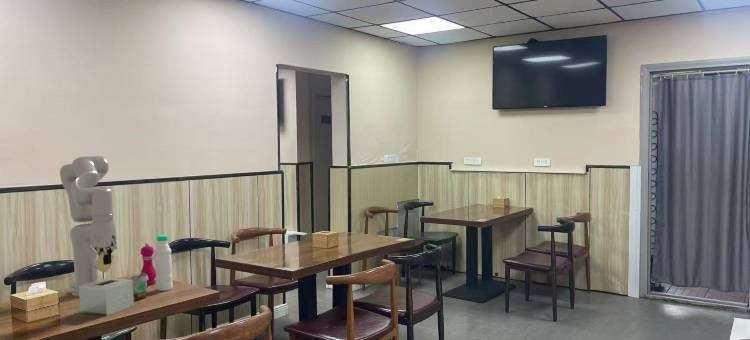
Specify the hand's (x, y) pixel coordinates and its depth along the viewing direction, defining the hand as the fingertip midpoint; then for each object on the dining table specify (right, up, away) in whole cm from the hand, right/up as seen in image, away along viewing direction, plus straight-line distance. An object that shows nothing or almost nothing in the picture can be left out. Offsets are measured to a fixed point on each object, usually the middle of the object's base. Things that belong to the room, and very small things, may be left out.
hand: (105, 263), depth 233 cm
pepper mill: (+1, -17, +43) cm, 46 cm away
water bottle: (+13, -17, +32) cm, 38 cm away
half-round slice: (+8, -18, +16) cm, 26 cm away
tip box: (+1, -19, +1) cm, 19 cm away
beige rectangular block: (-1, -2, -2) cm, 3 cm away
